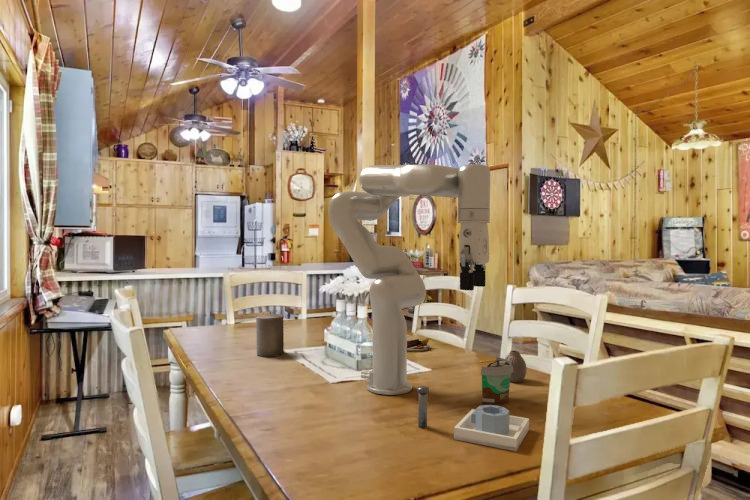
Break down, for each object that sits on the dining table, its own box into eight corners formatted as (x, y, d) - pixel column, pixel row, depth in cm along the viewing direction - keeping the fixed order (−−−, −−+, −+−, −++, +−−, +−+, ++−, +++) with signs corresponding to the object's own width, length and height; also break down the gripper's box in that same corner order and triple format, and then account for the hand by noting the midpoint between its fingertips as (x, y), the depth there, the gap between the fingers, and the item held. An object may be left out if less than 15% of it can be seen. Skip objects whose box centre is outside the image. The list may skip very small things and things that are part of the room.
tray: (453, 439, 109) (453, 427, 109) (472, 419, 120) (472, 409, 120) (516, 451, 103) (516, 439, 103) (529, 429, 114) (529, 418, 114)
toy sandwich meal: (412, 354, 186) (412, 341, 186) (388, 348, 197) (388, 335, 197) (436, 349, 194) (436, 337, 194) (412, 343, 205) (412, 331, 205)
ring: (503, 439, 107) (504, 417, 107) (467, 432, 110) (468, 411, 110) (511, 428, 113) (511, 408, 113) (476, 422, 116) (476, 402, 116)
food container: (504, 410, 127) (504, 370, 127) (480, 405, 130) (480, 366, 130) (518, 397, 137) (519, 359, 137) (496, 393, 141) (496, 356, 140)
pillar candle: (289, 353, 186) (289, 311, 186) (270, 358, 178) (270, 315, 178) (269, 350, 192) (269, 309, 191) (250, 355, 183) (249, 313, 183)
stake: (415, 427, 115) (415, 388, 115) (419, 423, 118) (419, 385, 117) (425, 429, 114) (426, 390, 114) (430, 425, 116) (430, 387, 116)
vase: (527, 384, 149) (527, 354, 148) (502, 383, 150) (503, 353, 150) (525, 378, 155) (525, 349, 155) (501, 376, 157) (502, 348, 157)
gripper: (478, 215, 114) (477, 292, 115) (498, 217, 129) (497, 285, 130) (446, 215, 118) (445, 290, 118) (469, 218, 133) (468, 284, 133)
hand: (472, 288), depth 124 cm, fingers open, 9 cm apart
